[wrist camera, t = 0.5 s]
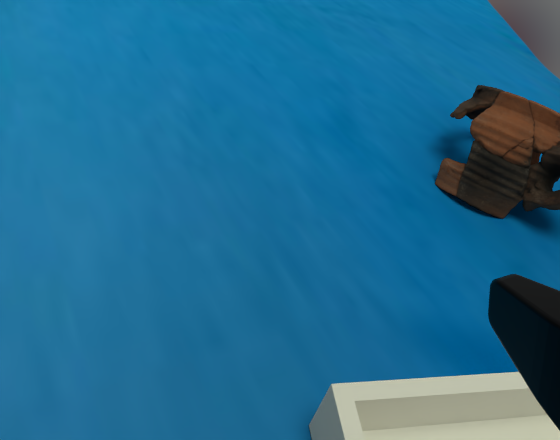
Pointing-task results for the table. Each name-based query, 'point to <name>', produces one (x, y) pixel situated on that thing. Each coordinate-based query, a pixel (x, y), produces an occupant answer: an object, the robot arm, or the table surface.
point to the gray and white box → (433, 410)
